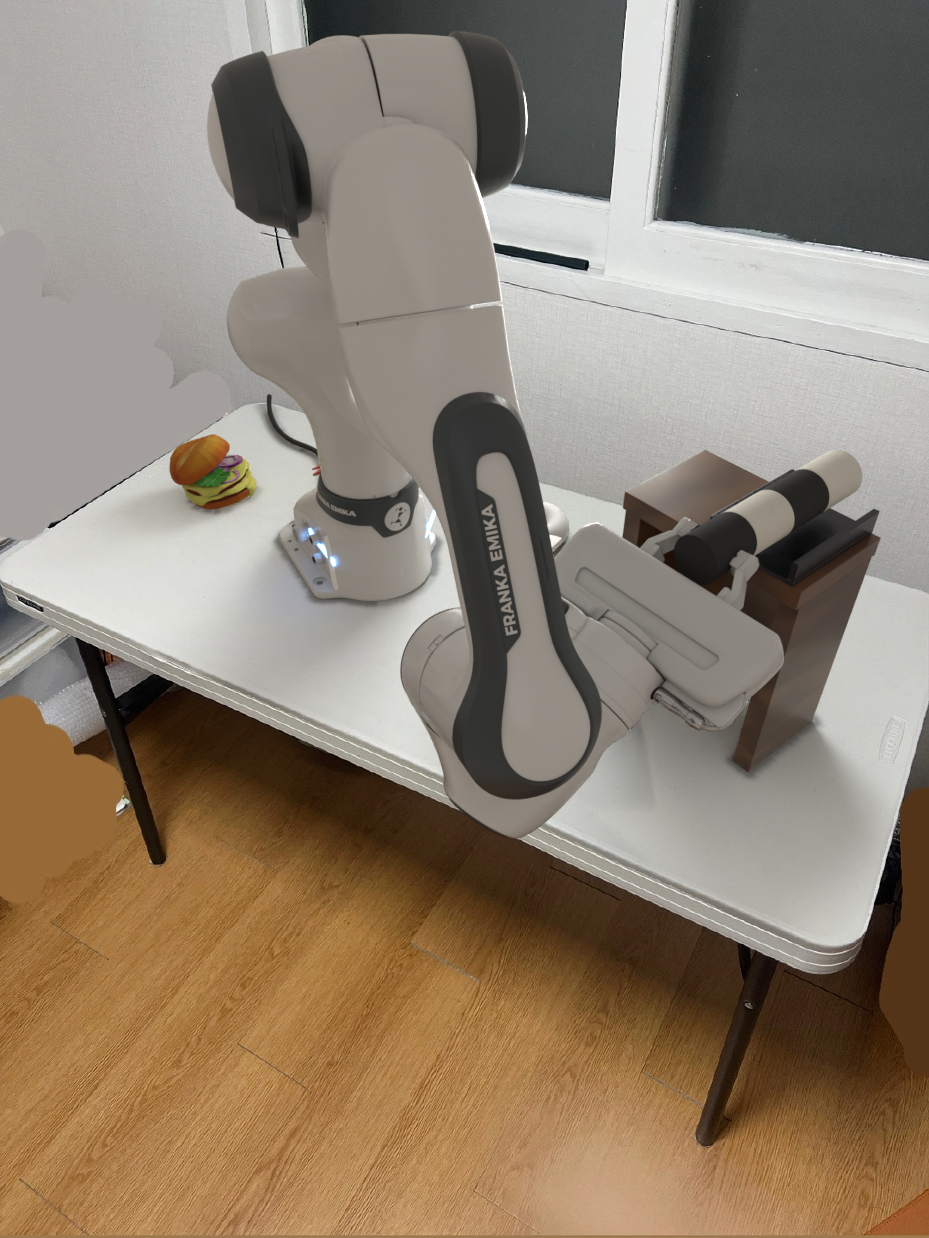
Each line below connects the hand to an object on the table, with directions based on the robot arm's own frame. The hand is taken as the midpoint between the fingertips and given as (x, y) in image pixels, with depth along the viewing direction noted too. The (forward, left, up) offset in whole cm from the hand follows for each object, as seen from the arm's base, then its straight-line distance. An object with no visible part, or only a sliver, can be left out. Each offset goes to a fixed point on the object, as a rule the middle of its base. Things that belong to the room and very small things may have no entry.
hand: (721, 539), depth 72 cm
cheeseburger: (-76, -12, -29) cm, 82 cm away
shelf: (-5, +11, -29) cm, 31 cm away
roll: (0, +7, -3) cm, 7 cm away
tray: (0, +11, -5) cm, 12 cm away
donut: (-39, +16, -29) cm, 51 cm away
